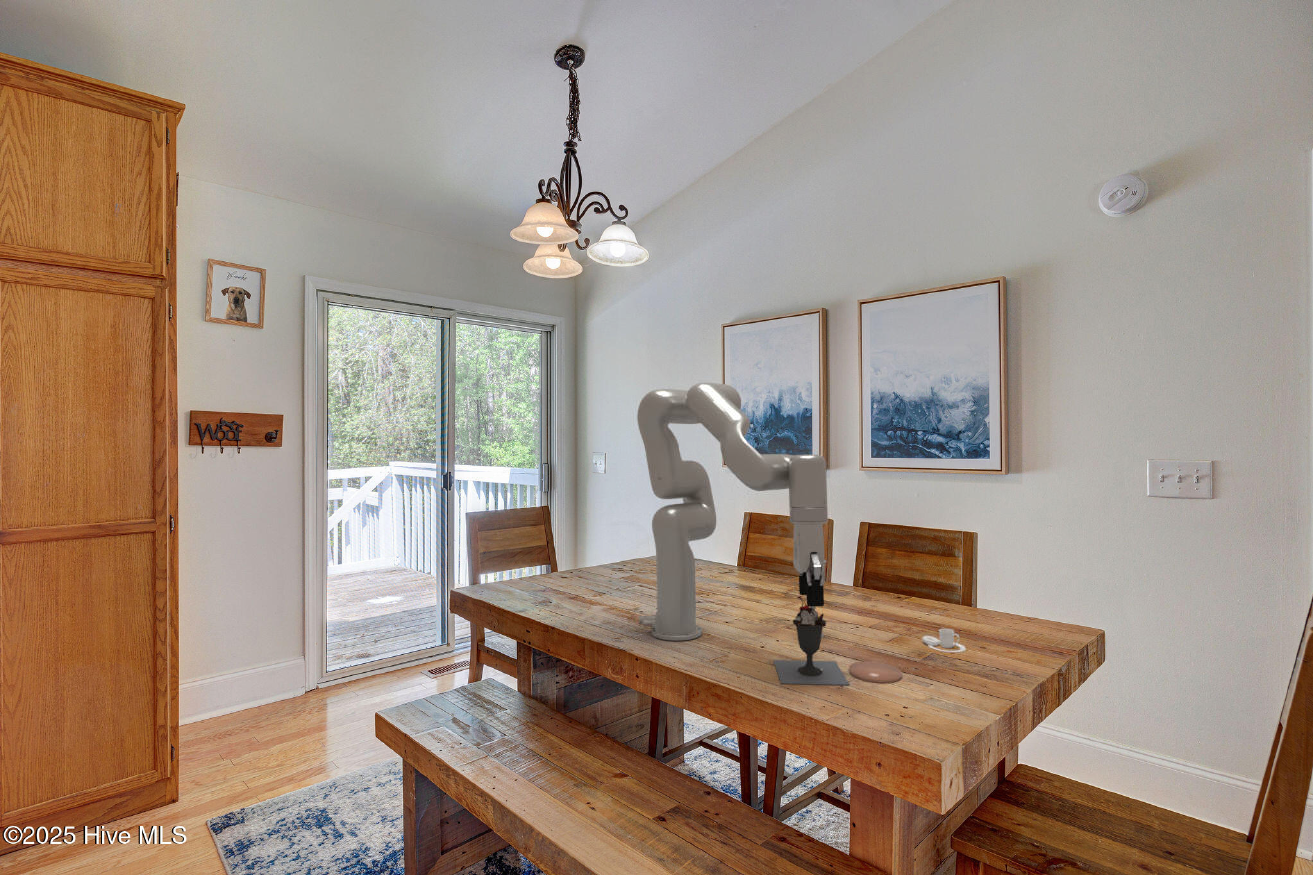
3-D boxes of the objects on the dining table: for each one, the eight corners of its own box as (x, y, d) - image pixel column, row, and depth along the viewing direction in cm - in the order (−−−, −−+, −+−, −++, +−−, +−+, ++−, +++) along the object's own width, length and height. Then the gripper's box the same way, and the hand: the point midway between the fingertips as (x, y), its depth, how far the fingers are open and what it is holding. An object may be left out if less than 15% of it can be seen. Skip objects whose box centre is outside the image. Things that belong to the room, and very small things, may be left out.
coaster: (855, 682, 123) (855, 678, 123) (844, 664, 133) (844, 660, 133) (908, 683, 122) (908, 679, 122) (892, 665, 132) (892, 661, 132)
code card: (780, 684, 123) (780, 682, 123) (773, 660, 135) (773, 659, 135) (849, 685, 122) (849, 684, 122) (835, 662, 135) (835, 660, 135)
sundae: (788, 666, 132) (787, 593, 132) (820, 665, 132) (819, 592, 132) (798, 677, 125) (797, 601, 125) (831, 676, 125) (830, 600, 126)
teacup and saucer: (917, 644, 147) (916, 627, 147) (942, 640, 150) (942, 623, 150) (947, 656, 139) (947, 637, 139) (974, 651, 142) (973, 633, 142)
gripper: (784, 511, 138) (786, 591, 137) (796, 520, 120) (798, 611, 120) (819, 511, 137) (822, 590, 137) (836, 519, 120) (839, 610, 119)
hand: (811, 600), depth 128 cm, fingers open, 9 cm apart
